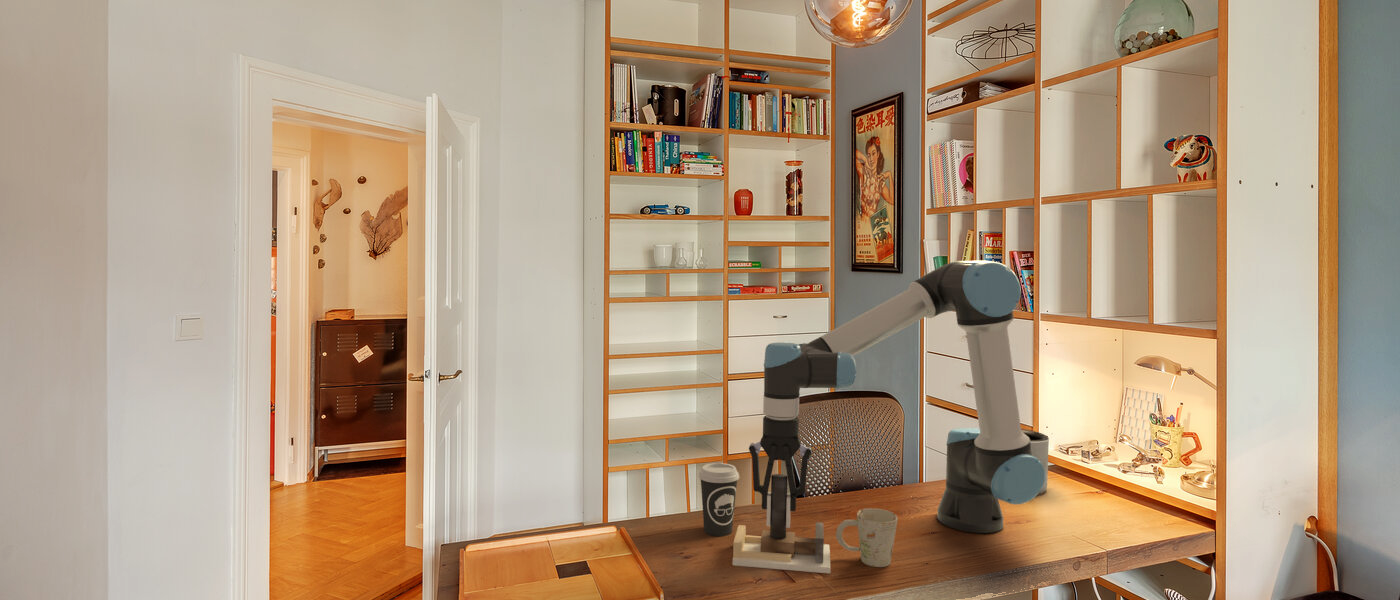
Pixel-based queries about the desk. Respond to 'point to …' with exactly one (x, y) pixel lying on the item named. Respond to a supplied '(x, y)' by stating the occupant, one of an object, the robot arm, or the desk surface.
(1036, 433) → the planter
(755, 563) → the white slotted peg base
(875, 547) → the mug
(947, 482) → the robot arm
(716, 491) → the coffee cup
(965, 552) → the desk surface
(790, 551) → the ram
